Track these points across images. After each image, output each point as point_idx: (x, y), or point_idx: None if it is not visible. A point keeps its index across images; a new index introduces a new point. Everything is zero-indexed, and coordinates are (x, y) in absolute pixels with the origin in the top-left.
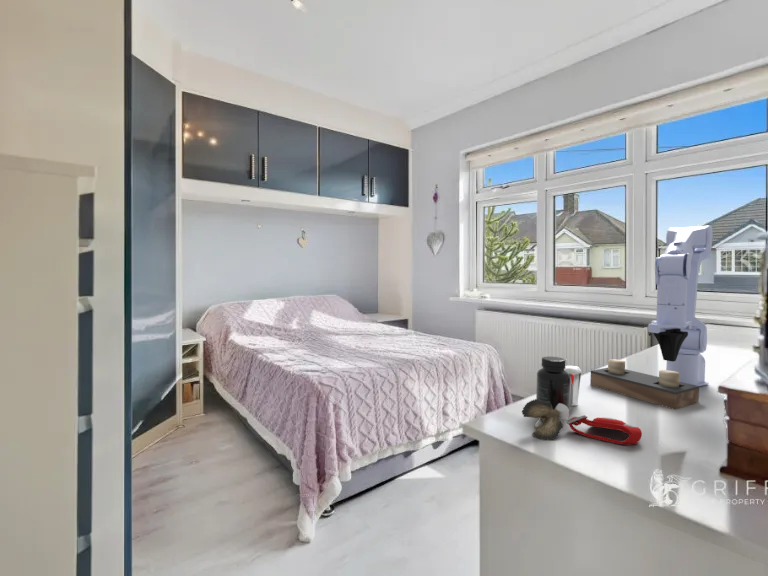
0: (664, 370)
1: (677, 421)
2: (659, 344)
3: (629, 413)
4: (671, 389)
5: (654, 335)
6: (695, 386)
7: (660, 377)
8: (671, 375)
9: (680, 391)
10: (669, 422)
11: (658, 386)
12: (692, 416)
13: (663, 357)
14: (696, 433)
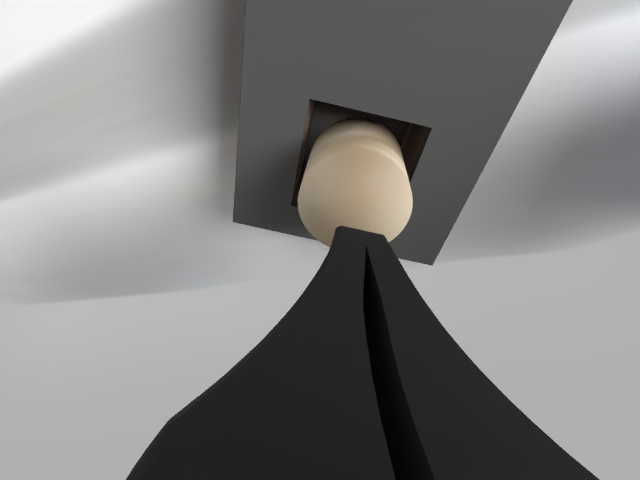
0: (390, 174)
1: (136, 216)
2: (290, 310)
3: (32, 79)
4: (260, 202)
5: (200, 400)
6: (412, 257)
7: (315, 155)
8: (306, 222)
9: (275, 228)
10: (102, 203)
11: (264, 145)
12: (229, 234)
13: (334, 238)
14: (97, 263)
